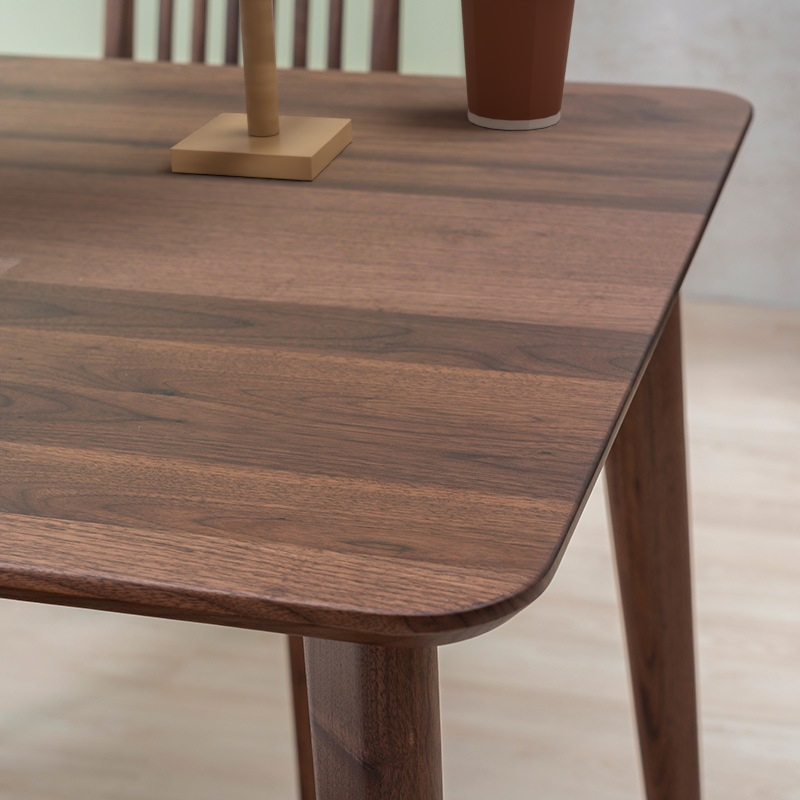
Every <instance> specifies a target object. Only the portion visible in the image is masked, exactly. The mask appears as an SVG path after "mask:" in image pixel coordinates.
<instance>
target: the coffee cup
mask: <svg viewBox="0 0 800 800" xmlns="http://www.w3.org/2000/svg"><path fill="white" fill-rule="evenodd" d="M575 2H576V0H460V5H461V6H460V7H461V8H460V9H461V21H462V36H463V37H462V39H463V53H464V55H463V56H464V69H465V83H466V84H465V85H466V98H467V100H466V101H467V118H468V121H469V122H470V123H472V124H474V125H476V126H479V127H484V128H488V129H492V130H493V129H494V130H504V131H505V130H506V131H526V130H527V131H528V130H535V129H536V130H537V129H542V128H543V129H544V128H547V127H550V126H553V125H554V126H555V125H556V124H557V123H558V122H559V121H561V110H562V104H563V95H564V87H565V80H566V72H567V64H568V58H569V57H568V56H569V50H570V49H569V48H570V41H571V34H572V33H571V32H572V27H573V26H572V25H573V17H574V12H575V4H576V3H575Z"/></svg>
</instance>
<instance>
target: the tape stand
mask: <svg viewBox="0 0 800 800" xmlns="http://www.w3.org/2000/svg"><path fill="white" fill-rule="evenodd" d="M238 3H239V5H238V6H239V19H240V33H241V48H242V64H243V79H244V80H243V81H244V95H245V109H246V111H245V112H246V113H237V112H221V113H219V114H218V115H216V116H214V118H212V119H211V120H209V121H208V122H207V123H204V124H203V125H202V126H201V127H199V128H197V130H194V131H193V132H192V133H191V134H189V135H187V136H186V137H184V138H183V139H181V140H180V141H179V142H177V143H176V144H175V145H173V146H172V147H170V148H169V154H170V163H171V172H172V173H180V174H181V173H184V174H195V175H196V174H197V175H213V176H228V177H229V176H230V177H231V176H232V177H245V178H246V177H247V178H260V179H261V178H262V179H276V180H277V179H278V180H279V179H280V180H294V181H311V182H312V181H313V180H315V179H316V178H317V177H318V176H319V175H320V174H321V173H322V172H323V171H324V170H325V168H327V167H328V166H329V164H330V163H332V162H333V160H334V159H336V158H337V157H338V156H339V154H341V153H342V152H343V151H344V149H346V148H347V147H348V146H349V145H350V144H351V142H353V129H352V127H353V126H352V119H351V118H340V117H320V116H319V117H318V116H300V115H299V116H298V115H280V110H279V91H278V78H277V77H278V73H277V59H276V58H277V55H276V54H277V53H276V37H275V36H276V35H275V20H274V19H275V18H274V0H238Z"/></svg>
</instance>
